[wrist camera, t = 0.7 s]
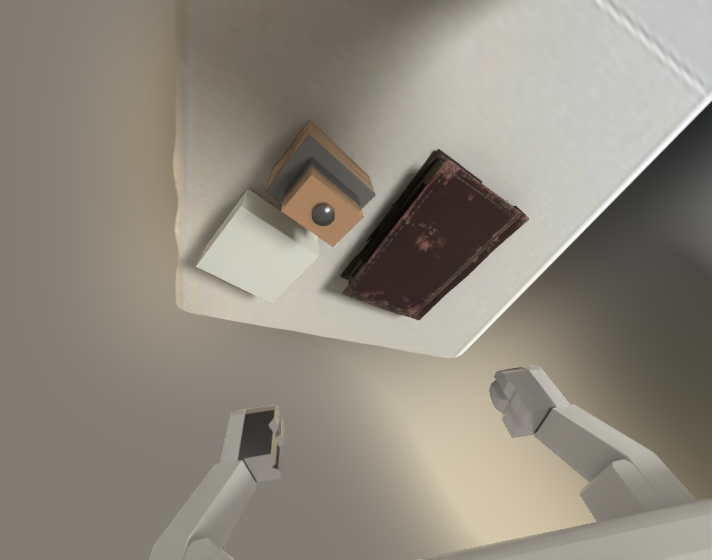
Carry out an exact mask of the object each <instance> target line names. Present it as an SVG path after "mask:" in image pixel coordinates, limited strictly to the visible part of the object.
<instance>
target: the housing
mask: <svg viewBox="0 0 712 560" xmlns="http://www.w3.org/2000/svg"><path fill="white" fill-rule="evenodd" d="M281 211H282V212H283V213H284V214H286V215H287V216H289V217H290V218H292V219H293V220H295V221H296V222H297V223H299V224H300V225H302V226H303V227H305V228H306V229H308V230H309V231H311V232H312V233H313V234H315V235H316V236H318V237H319V238H321V239H322V240H324V241H325V242H327V243H328V244H329V245H331V246H332V247H333V246H334V245H335V244H336V243H337V242H338V241H339V240H341V239H342V238H343V237H344V236H345V235H346V234H347V233H348V232H349V231H350V230H351V229H352V228H353V227H354V226H355V225H356V224H357V223H358V222H359V221H360V220H361V219H362V218H363V214H362V210H361V206H360V202H359V198H358V196H357V195H356V194H355V193H353V192H352V191H351V190H350V189H349V188H348V187H346V186H345V185H344V184H343V183H342V182H341V181H339V180H338V179H337V178H336V177H335V176H334V175H332V174H331V173H330V172H329V171H328V170H327V169H325V168H324V167H323V166H322V165H321V164H320V163H318V162H317V161H316V160H315V159H314V158H313V157H311V158H310V159H309V161H308V162H307V163H306V164H305V165H304V167H303V168H302V169H301V170H300V172H299V173H298V174H297V175H296V177H295V178H294V179H293V180H292V181H291V183H290V184H289V185H288V186H287V188H286V189H285V190H284V196H283V202H282V208H281Z"/></svg>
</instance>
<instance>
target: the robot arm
mask: <svg viewBox="0 0 712 560" xmlns="http://www.w3.org/2000/svg"><path fill="white" fill-rule="evenodd" d="M494 377H495V379H496V380H495V381H494V382H493V383H492V384H491V386H490V397H491V400H492V402H493V404H494V406H495V408H496V409H497V410H499V411H500V412H501V413H503V418H502V421H503V422H504V424H505V426H506V427H507V429H508V431H509V433H510V434H511V436H512V438H514V437H521V436H528V435H535V437H536V438H537V439H539V440H540V441H541V442H542V443H543V444H545V445H546V446H547V447H548V448H549V449H550V450H552V451H553V452H554V453H555V454H556V455H558V456H559V457H560V458H561V459H562V460H564V461H565V462H566V463H567V464H568V465H570V466H571V467H572V468H573V469H574V470H575V471H577V472H578V473H579V474H580V475H581V476H583V477H584V478H585V479H586V480H587V481H588V482H590V483H588V485H586V486H585V487H584V488H583V489H582V490H581V493H580V496H581V497H582V499H583V501H584V502H585V504H586V505H587V507H588V508H589V510H590V512H591V513H592V515H593V516H594V518H595V519H596V521H597V522H595V523H590V524H586V525H581V526H575V527H571V528H566V529H561V530H556V531H551V532H547V533H542V534H537V535H532V536H528V537H523V538H518V539H513V540H509V541H503V542H499V543H494V544H489V545H485V546H479V547H475V548H470V549H465V550H460V551H456V552H451V553H446V554H441V555H436V556H432V557H427V558H422V559H418V560H712V498H710V499H705V500H700V501H697V500H696V499H695V498H694V497H693V496H692V494H691V493H690V492H689V491H688V490H687V489H686V488H685V487H684V486H683V485H682V483H681V482H680V481H679V480H678V479H677V478H676V477H675V476H674V475H673V473H672V472H671V471H670V470H669V469H668V468H667V467H666V466H665V465H664V463H663V462H662V461H661V460H660V459H659V458H658V457H657V456H656V455H655V453H653V452H652V451H650V450H648V449H647V448H645V447H644V446H642V445H640V444H638V443H637V442H635V441H634V440H632V439H630V438H629V437H627V436H625V435H624V434H622V433H620V432H619V431H617V430H615V429H614V428H612V427H611V426H609V425H607V424H606V423H604V422H602V421H601V420H599V419H597V418H595V417H594V416H592V415H591V414H589V413H587V412H586V411H584V410H582V409H581V408H579V407H577V406H576V405H570V404H569V403H568V402H567V400H566V399H565V398H564V396H563V395H562V394H561V393H560V391H559V390H558V389H557V387H556V386H555V385H554V384H553V382H552V381H551V380H550V379H549V377H548V376H547V375H546V374H545V372H544V371H543V370H542V369H541V368H540V367H539V366H536V365H532V366H526V367H519V368H513V369H507V370H502V371H498V372H496V373H495V376H494ZM283 444H284V424H283V419H282V416H280V415H279V408H278V405H271V406H264V407H258V408H251V409H244V410H237V411H232V413H231V415H230V417H229V422H228V426H227V431H226V436H225V440H224V445H223V450H222V454H221V459H220V463H219V464H215V465H214V466H213V468H212V469H211V470H210V472H209V473H208V474H207V476H206V477H205V478H204V480H203V481H202V482H201V484H200V485H199V486H198V488H197V489H196V490H195V492H194V493H193V494H192V496H191V497H190V498H189V500H188V501H187V502H186V504H185V505H184V506H183V507H182V509H181V510H180V511H179V513H178V514H177V515H176V517H175V518H174V520H173V521H172V522H171V523H170V525H169V526H168V528H167V529H166V530H165V531H164V533H163V534H162V535H161V537H160V538H159V540H158V541H157V542H156V543H155V545H154V546H153V549H152V552H151V555H150V558H149V560H234V558H232V557H231V556H230V555H229V554H227V553H226V552H225V551H224V550H222V548H223V546H224V544H225V542H226V541H227V539H228V537H229V535H230V533H231V531H232V530H233V528H234V526H235V524H236V522H237V521H238V519H239V517H240V515H241V513H242V511H243V509H244V508H245V506H246V504H247V502H248V500H249V499H250V497H251V495H252V493H253V491H254V489H255V488H256V486H257V484H256V483H259V482H264V481H269V480H274V479H279V478H282V471H283V455H282V452H281V450H280V448H281V447H282V445H283Z"/></svg>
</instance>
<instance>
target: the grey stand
mask: <svg viewBox="0 0 712 560" xmlns="http://www.w3.org/2000/svg"><path fill="white" fill-rule="evenodd" d="M318 257H319V245H318V236H316V235H315V234H313V233H312V232H310V231H309V230H307V229H306V228H305V227H303V226H302V225H300V224H299V223H297V222H296V221H294V220H293V219H291V218H290V217H289V216H287V215H286V214H284V213H283V212H281V211H280V210H278V209H277V208H275V207H274V206H273V205H271V204H270V203H268V202H267V201H265V200H264V199H262V198H261V197H260V196H258V195H257V194H255V193H254V192H252V191H251V190H249V189H247V190H246V192H245V193H244V195H243V196H242V197H241V199H240V200H239V201H238V203H237V204H236V205H235V207H234V208H233V209H232V211H231V212H230V214H229V215H228V216H227V218H226V219H225V220H224V222H223V223H222V224H221V226H220V227H219V228H218V230H217V231H216V233H215V234H214V235H213V237H212V238H211V239H210V241H209V242H208V243H207V245H206V246H205V248H204V251H203V253H202V255H201V257H200V259H199V261H198V263H197V265H196V267H198V268H200V269H202V270H204V271H206V272H208V273H210V274H212V275H214V276H216V277H218V278H220V279H222V280H224V281H226V282H229V283H231V284H233V285H235V286H237V287H239V288H241V289H243V290H245V291H247V292H249V293H251V294H253V295H255V296H257V297H259V298H261V299H263V300H265V301H267V302H270V303H272V302H273V301H274V300H275V299H276V298H277V297H278V296H279V295H280V294H281V293H282V292H283V291H284V290H285V289H286V288H287V287H288V286H289V285H290V284H291V283H292V282H293V281H294V280H295V279H296V278H297V277H298V276H299V275H300V274H301V273H302V272H303V271H304V270H305V269H307V268H308V267H309V266H310V265H311V264H312V263H313V262H314V261H315V260H316V259H317V258H318Z"/></svg>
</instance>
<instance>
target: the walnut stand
mask: <svg viewBox="0 0 712 560" xmlns="http://www.w3.org/2000/svg"><path fill="white" fill-rule="evenodd" d="M311 157H313V158H314V159H315V160H316V161H317V162H318V163H320V164H321V165H322V166H323V167H324V168H325V169H327V170H328V171H329V172H330V173H331V174H332V175H334V176H335V177H336V178H337V179H338V180H339V181H341V182H342V183H343V184H344V185H345V186H346V187H348V188H349V189H350V190H351V191H352V192H353V193H355V194H356V195H357V196H358V198H359V202H360V206H361V209H362V208H363V207H364V206H365V205H366V204H367V203H368V202H369V201H370V200H371V199H372V198H373V197H374V196H375V192H374V190H373V187H372V184H371V181H370V178H369V176H368V175H367V174H366V173H365V172H364V171H363V170H362V169H361V168H360V167H359V166H358V165H357V164H356V163H355V162H353V161H352V160H351V159H350V158H349V157H348V156H347V155H346V154H345V153H344V152H343V151H342V150H341V149H340V148H338V147H337V146H336V145H335V144H334V143H333V142H332V141H331V140H330V139H329V138H328V137H327V136H326V135H325V134H323V133H322V132H321V131H320V130H319V129H318V128H317V127H316V126H315V125H314V124H313V123H312V122H311V121H309V122H308V123H307V125H306V126H305V127H304V129H303V130H302V131H301V133H300V134H299V135H298V137H297V138H296V139H295V141H294V142H293V143H292V144H291V146H290V147H289V148H288V150H287V151H286V152H285V154H284V155H283V156H282V158H281V159H280V160H279V162H278V163H277V164H276V166H275V167H274V168H273V170H272V171H271V174H270V178H269V181H268V185H267V189H266V192H268V193H269V194H270V195H272V196H273V197H275V198H276V199H277V200H279V201H280V202H283V196H284V190H285V189H286V188H287V186H288V185H289V184H290V183H291V181H292V180H293V179H294V178H295V177H296V175H297V174H298V173H299V172H300V170H301V169H302V168H303V167H304V165H305V164H306V163H307V162H308V161H309V159H310V158H311Z"/></svg>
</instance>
